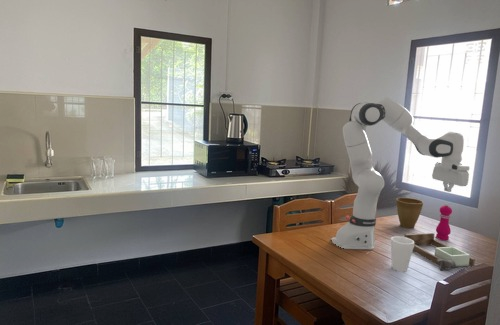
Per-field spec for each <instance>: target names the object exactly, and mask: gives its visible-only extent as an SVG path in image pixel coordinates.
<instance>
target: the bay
mask: <svg viewBox="0 0 500 325" xmlns="http://www.w3.org/2000/svg"><path fill="white" fill-rule="evenodd" d="M403 237H406V238H409V239H411V240H413V241H414V242H415V243H414V248H413V251H412V252H414V253H416V254H418V255H419V256H421V257H423V258H425V259H427V261H430V262H432V263H433V264H435V265H437V266H439V267H440V268H439V270H440V271H444V270H453V269H456V264H455V262H454V261H453V260H448V261H444V260H443V259H440V258H439V257H437V256H435V254H433V253H431V252H429V251H428V250H426V249H424V248H422V247H421V246H433V247H434V248H439V247H450V245H447V244H444V243H442V242H441V241H438V240H437V239H435V233H434V232H423V233H421V232H420V233H405V234H404V236H403ZM475 262H476V259H475V258H474V257H472V256H470V259H469V266H473V267H474V266H475Z"/></svg>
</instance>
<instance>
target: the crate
mask: <svg viewBox="0 0 500 325" xmlns="http://www.w3.org/2000/svg"><path fill="white" fill-rule="evenodd" d="M434 248H435V249H434V255H435V256H437V257H439V258H440V259H443V260H444V261H448V260H453V261H454V262H455V264H456V267H468V266H470V265H469V259H470V257H471V255H470V254H469V253H467V252H465V251H463V250H461V249H459V248H457V247H455V246H449V247H439V248H437V247H434ZM456 267H455V268H456Z"/></svg>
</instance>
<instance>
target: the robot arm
mask: <svg viewBox="0 0 500 325" xmlns="http://www.w3.org/2000/svg"><path fill="white" fill-rule="evenodd" d="M380 121H382V122H384V123H385V124H386V125H387V126H389V127H390V128H392V129H393V130H394V131H397V132H398V133H400V134H402V135H403V136H404V137H405V138H407V140H409V141H410V142H411V143H412V144H413V145H414V147H415V149H416V151H417V152H418V153H419V154H420V155H422V156H428V157H431V158H437V159H438V158H441V161H438V162H436V163H435V164H434V167H433V169H432V174H431V177H432V179H433V180H436V181H440V182H442V185H443V187H444V188H443V190H444V192H447V193H451V192H452V190H453V188H454V186H458V187H467V185H468V183H469V176H470V173H469V171H470V166H469V165H467V164H466V163H465V162H463V161H462V160H463V158H462V153H463V152H464V140H465V139H464V136H463V134H462V133H458V132H454V131H446V133H444V134H442V135H439V136H435V137H433V136H429V135H425V134H423V133H422V132H420V131H419V129H417V128H416V127H415V126H414V125H413V122H414V116H413V114H412V113H411V112H410V111H409V110H408V109H407V108H406V107H405V106H403V105H402V104H400V103H399V102H397V101H396V100H394V99H392V98H390V97H382V98H381V99H380V100H378V101H377V103H375V102H366V101H365V102H359V103H356V104H355V105H354V106H353V107H352V108H351V110H350V115H349V120H348V122H346V123H345V124H344V125H343V127H342V137H343V141H344V145H345V148H346V152H347V156H348V158H349V159H348V160H349V161H350V162H349V164H350V170H351V177H352V181H353V182H354V184H355V185H357V187H358V189H357V194H356V197H355V198H354V200H353V209H352V215H351V216H349V215H346V216H345V219H346V220H348V222H347V223H345V224H344V225H343V226H341V227H340V228H338V230H337V232H336V234H335V237H331V240H332V241H331V242H332V243H333V244H334V245H335V244H336V245H335V246H336V247H338V246H339V247H338V248H340V247H341V249H343V248H344V249H343V250H374V248H375V247H376V246H377V243H376V236H375V235H376V234H375V228H376V225H377V217H376V214H377V206H378V205H377V204H378V201H379V198H380V193H381V192H382V190H383V189H384V187H385V180H384V177H383V175H381V174H380V172H378V171H376V170H375V168H374V167H373V160H372V158H373V152H372V149H371V146H370V142H369V139H368V136H367V127H368V126H375V125H376V124H378V123H379V122H380Z"/></svg>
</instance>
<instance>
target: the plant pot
mask: <svg viewBox="0 0 500 325" xmlns="http://www.w3.org/2000/svg"><path fill="white" fill-rule="evenodd" d="M423 206H424V201H423V200H420V199H417V198H411V197H396V210H397V216H398V220H399V224H400V227H403V228H407V229H413V228H414V227H415V226H416V224H417V222H418V220H419V217H420V215H421V212H422V209H423Z"/></svg>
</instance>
